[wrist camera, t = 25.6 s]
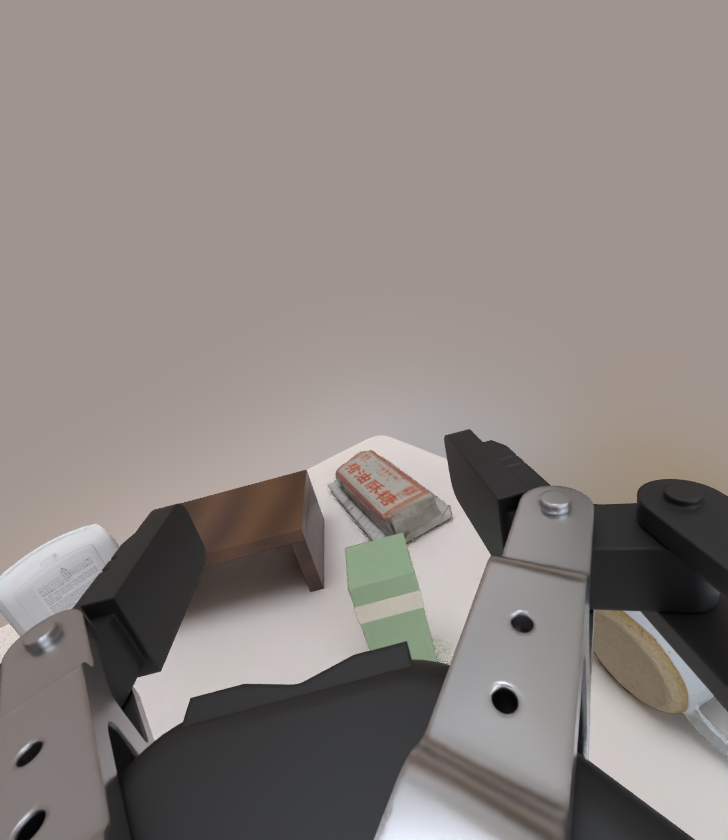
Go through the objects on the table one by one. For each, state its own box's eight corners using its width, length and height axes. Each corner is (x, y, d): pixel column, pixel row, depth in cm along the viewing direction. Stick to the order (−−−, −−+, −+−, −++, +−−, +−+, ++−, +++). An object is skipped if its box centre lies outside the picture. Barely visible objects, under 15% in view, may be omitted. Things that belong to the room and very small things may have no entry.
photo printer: (142, 591, 46) (91, 510, 42) (158, 602, 44) (105, 518, 39) (46, 666, 39) (-29, 578, 34) (58, 685, 36) (-21, 593, 32)
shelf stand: (159, 632, 39) (123, 576, 36) (195, 553, 51) (170, 505, 48) (323, 588, 39) (300, 528, 36) (324, 519, 51) (306, 469, 48)
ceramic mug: (571, 647, 28) (569, 572, 25) (648, 596, 30) (655, 521, 27) (751, 823, 19) (782, 737, 16) (845, 732, 21) (889, 641, 18)
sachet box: (384, 695, 28) (347, 589, 24) (377, 645, 32) (344, 547, 28) (442, 679, 28) (415, 571, 24) (429, 631, 32) (403, 531, 28)
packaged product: (449, 484, 43) (374, 524, 39) (456, 518, 44) (384, 559, 41) (378, 438, 58) (319, 464, 55) (384, 464, 60) (329, 491, 57)
